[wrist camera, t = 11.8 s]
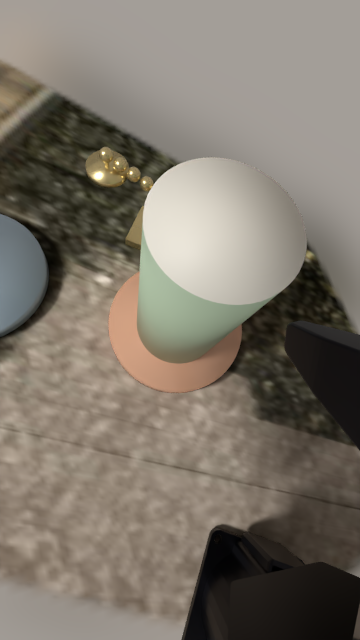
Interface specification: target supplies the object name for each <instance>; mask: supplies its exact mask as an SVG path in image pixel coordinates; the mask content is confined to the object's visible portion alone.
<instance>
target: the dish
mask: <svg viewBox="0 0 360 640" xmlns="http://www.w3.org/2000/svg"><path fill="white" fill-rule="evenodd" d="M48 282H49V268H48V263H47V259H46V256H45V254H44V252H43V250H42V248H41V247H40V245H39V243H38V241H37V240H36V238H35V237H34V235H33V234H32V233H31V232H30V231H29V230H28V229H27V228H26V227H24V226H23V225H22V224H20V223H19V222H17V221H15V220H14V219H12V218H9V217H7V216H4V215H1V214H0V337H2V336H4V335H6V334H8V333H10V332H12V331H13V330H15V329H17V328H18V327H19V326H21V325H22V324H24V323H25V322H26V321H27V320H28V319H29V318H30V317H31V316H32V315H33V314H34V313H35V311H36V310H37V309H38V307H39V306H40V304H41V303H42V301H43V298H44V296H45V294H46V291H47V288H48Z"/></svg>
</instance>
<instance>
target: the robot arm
mask: <svg viewBox="0 0 360 640" xmlns="http://www.w3.org/2000/svg"><path fill="white" fill-rule="evenodd" d="M284 346H285V351H286V353H287V355H288V356H289V358H290V359H291V361H292V362H293V364H294V366H295V367H296V369H297V370H298V372H299V373H300V375H301V376H302V378H303V379H304V381H305V382H306V384H307V385H308V387H309V388H310V390H311V391H312V392H313V394H314V395H315V396H316V397H317V399H318V400H319V401H320V402H321V404H322V405H323V406H324V407H325V409H326V410H327V411H328V412H329V413H330V415H331V416H332V417H333V418H334V420H335V421H336V422H337V423H338V425H339V426H340V427H341V428H342V429H343V431H344V432H345V433H346V434H347V436H348V437H349V438H350V439H351V440H352V442H353V443H354V444H355V445H356V447H357V448H358V449H359V450H360V335H358V334H354V333H350V332H346V331H342V330H338V329H334V328H330V327H326V326H322V325H318V324H314V323H310V322H306V321H296V322H291V323H289V324H288V325H287V329H286V337H285V345H284ZM216 535H220V540H219V541H214V538H215V536H216ZM182 640H360V578H359V577H357V576H354V575H352V574H350V573H347V572H345V571H343V570H340V569H338V568H336V567H333V566H331V565H329V564H326V563H324V562H316V563H312V564H307V565H305V564H304V563H303V561H302V560H301V559H300V558H298V557H297V556H294V555H293V554H291V553H290V552H289V551H288V550H287V549H286V548H285V547H283V546H282V545H281V544H279V543H276V542H274V541H271V540H268V539H265V538H263V537H260V536H257V535H254V534H252V533H249V532H245V533H243V535H242V536H239V535H236V534H234V533H231V532H228V531H225V530H223V529H220V528H214V529H212V530H211V532H210V534H209V538H208V541H207V545H206V549H205V553H204V556H203V560H202V564H201V568H200V572H199V575H198V579H197V583H196V587H195V591H194V594H193V598H192V602H191V606H190V610H189V613H188V617H187V621H186V625H185V629H184V632H183V636H182Z"/></svg>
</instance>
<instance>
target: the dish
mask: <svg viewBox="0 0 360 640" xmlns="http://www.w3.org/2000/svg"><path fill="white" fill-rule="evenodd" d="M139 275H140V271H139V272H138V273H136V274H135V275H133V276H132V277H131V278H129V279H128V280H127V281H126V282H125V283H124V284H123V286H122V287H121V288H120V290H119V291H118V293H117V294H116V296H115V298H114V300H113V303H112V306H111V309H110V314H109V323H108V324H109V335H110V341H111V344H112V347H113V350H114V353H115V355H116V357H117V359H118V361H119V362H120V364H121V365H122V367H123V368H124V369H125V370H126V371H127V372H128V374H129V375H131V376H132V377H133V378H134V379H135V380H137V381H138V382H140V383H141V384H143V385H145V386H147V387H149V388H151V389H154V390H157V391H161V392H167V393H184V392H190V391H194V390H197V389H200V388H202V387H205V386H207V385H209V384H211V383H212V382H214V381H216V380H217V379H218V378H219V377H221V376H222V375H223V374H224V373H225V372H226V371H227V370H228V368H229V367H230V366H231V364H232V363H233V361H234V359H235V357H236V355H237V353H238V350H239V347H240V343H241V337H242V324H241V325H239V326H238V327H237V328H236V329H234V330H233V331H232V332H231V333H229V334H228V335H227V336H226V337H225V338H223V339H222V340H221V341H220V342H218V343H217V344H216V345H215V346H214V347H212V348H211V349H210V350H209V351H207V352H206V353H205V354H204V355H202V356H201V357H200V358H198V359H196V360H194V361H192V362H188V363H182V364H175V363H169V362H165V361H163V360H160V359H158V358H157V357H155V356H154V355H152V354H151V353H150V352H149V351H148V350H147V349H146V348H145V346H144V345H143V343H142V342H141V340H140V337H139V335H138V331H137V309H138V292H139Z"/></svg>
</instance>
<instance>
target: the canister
mask: <svg viewBox="0 0 360 640" xmlns="http://www.w3.org/2000/svg"><path fill="white" fill-rule="evenodd" d="M306 247H307V236H306V230H305V225H304V222H303V219H302V216H301V214H300V212H299V210H298V208H297V206H296V204H295V203H294V201H293V200H292V198H291V197H290V196H289V194H288V193H287V192H286V191H285V190H284V189H283V188H282V187H281V185H279V184H278V183H277V182H276V181H275V180H274V179H272V178H271V177H269V176H268V175H266V174H265V173H263V172H262V171H260V170H258V169H257V168H254V167H252V166H250V165H248V164H245V163H242V162H239V161H235V160H230V159H225V158H199V159H194V160H190V161H186V162H184V163H181V164H179V165H177V166H175V167H173V168H171V169H170V170H168V171H167V172H165V173H164V174H163V175H162V176H161V177H160V178H159V179H158V180H157V181H156V182H155V184H154V185H153V186H152V188H151V190H150V192H149V194H148V196H147V199H146V201H145V205H144V211H143V223H142V240H141V257H140V275H139V292H138V309H137V331H138V335H139V337H140V340H141V342H142V343H143V345H144V346H145V348H146V349H147V350H148V351H149V352H150V353H151V354H152V355H154V356H155V357H157V358H158V359H160V360H163V361H165V362H169V363H175V364H182V363H188V362H192V361H194V360H196V359H198V358H200V357H201V356H202V355H204V354H205V353H206V352H207V351H209V350H210V349H211V348H212V347H214V346H215V345H216V344H217V343H218V342H220V341H221V340H222V339H223V338H225V337H226V336H227V335H228V334H229V333H231V332H232V331H233V330H234V329H236V328H237V327H238V326H239V325H241V324H242V323H243V322H244V321H245V320H247V319H248V318H249V317H250V316H252V315H253V314H254V313H255V312H256V311H258V310H259V309H260V308H261V307H263V306H264V305H265V304H266V303H267V302H269V301H270V300H271V299H272V298H274V297H275V296H276V295H277V294H278V293H280V292H281V291H282V290H283V289H285V288H286V287H287V286H288V285H289V284H290V283H291V282H292V281H293V280H294V279H295V277H296V276H297V274H298V273H299V271H300V269H301V267H302V265H303V262H304V258H305V255H306Z"/></svg>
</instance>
